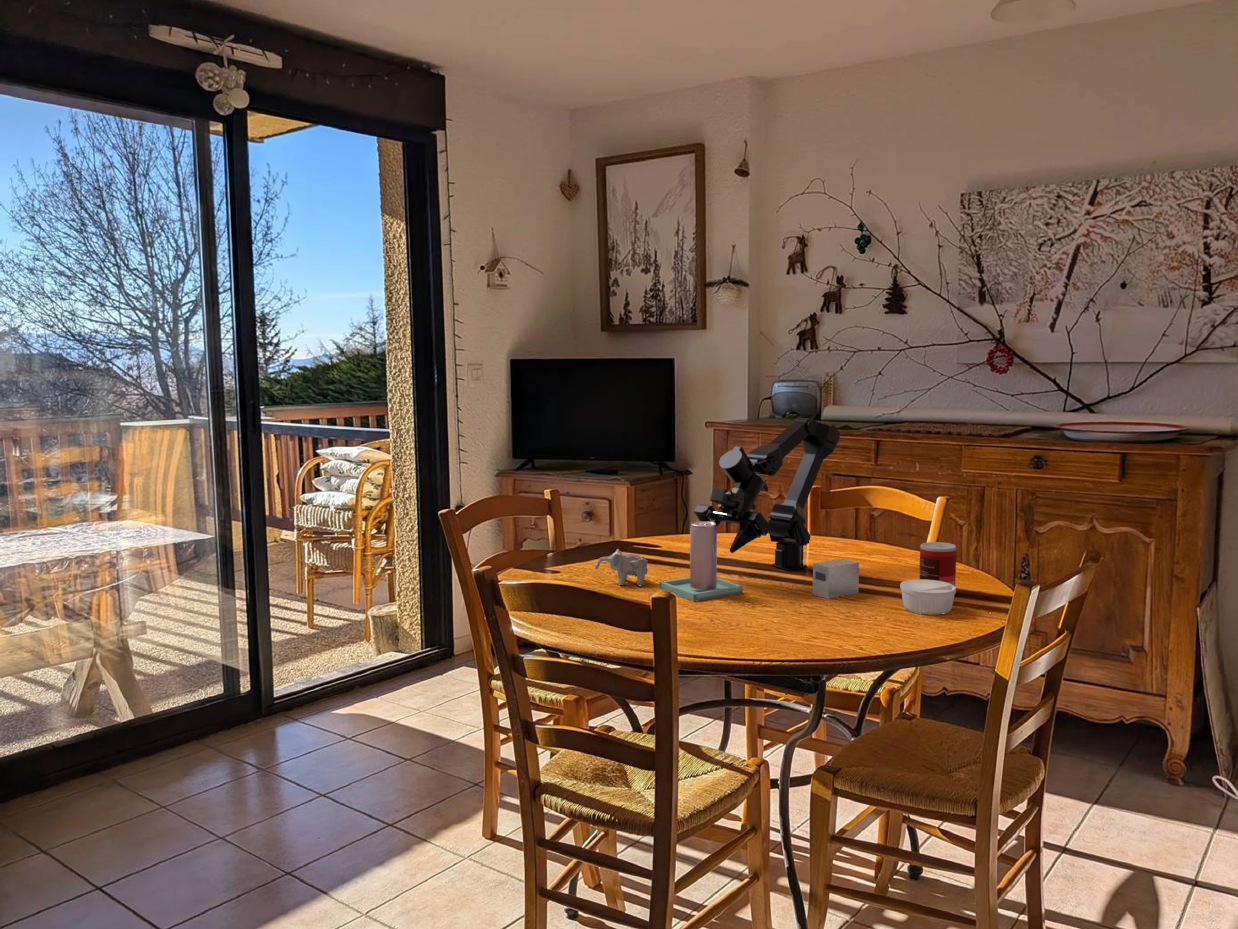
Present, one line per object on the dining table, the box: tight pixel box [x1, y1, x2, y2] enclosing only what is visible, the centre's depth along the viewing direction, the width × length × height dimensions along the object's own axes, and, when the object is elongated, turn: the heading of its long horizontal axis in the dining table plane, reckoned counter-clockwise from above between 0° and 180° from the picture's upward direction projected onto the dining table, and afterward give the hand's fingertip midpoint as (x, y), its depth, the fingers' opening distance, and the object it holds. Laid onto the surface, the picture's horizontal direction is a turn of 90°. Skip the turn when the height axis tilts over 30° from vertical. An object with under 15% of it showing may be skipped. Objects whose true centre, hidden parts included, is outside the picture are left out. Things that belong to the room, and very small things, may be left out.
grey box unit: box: [812, 558, 860, 600], centre depth 220 cm, size 10×5×7 cm, turn 121°
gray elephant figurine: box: [595, 548, 649, 586], centre depth 231 cm, size 9×12×8 cm
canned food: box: [919, 541, 957, 587], centre depth 220 cm, size 8×8×11 cm
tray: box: [658, 576, 744, 602], centre depth 224 cm, size 14×14×2 cm
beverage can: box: [689, 521, 718, 592], centre depth 222 cm, size 6×6×15 cm
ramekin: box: [899, 579, 957, 615], centre depth 207 cm, size 11×11×5 cm
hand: (715, 549), depth 226 cm, fingers open, 9 cm apart
